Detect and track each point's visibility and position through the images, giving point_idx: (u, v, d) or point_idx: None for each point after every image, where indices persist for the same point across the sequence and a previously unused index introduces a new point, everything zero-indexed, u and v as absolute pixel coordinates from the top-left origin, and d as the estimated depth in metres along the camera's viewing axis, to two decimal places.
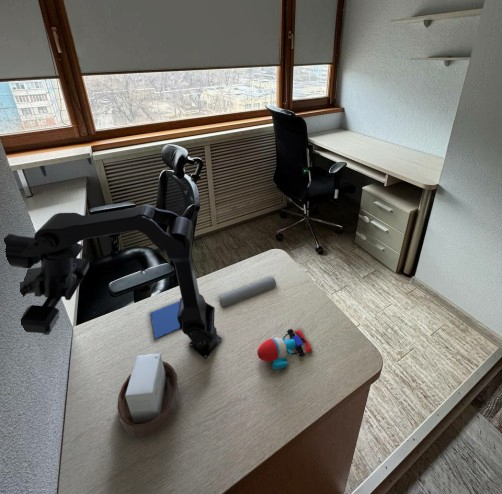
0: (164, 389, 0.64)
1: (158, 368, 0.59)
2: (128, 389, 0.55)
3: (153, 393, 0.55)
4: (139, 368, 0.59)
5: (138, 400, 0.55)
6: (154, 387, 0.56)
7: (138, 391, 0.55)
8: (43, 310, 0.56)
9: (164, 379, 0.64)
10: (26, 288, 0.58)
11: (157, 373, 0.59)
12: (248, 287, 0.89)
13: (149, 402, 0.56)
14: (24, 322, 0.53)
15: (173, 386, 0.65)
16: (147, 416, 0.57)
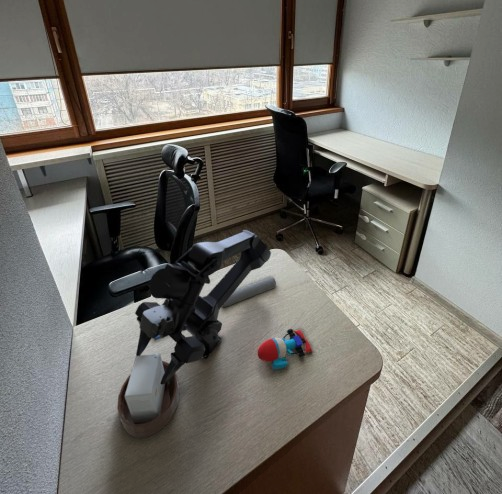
0: None
1: (157, 368, 0.59)
2: (127, 389, 0.55)
3: (152, 393, 0.55)
4: (138, 368, 0.59)
5: (138, 400, 0.55)
6: (153, 387, 0.56)
7: (137, 391, 0.55)
8: (192, 339, 0.58)
9: None
10: None
11: (156, 373, 0.58)
12: (248, 287, 0.89)
13: (149, 402, 0.55)
14: (194, 349, 0.55)
15: (173, 386, 0.65)
16: (146, 416, 0.57)
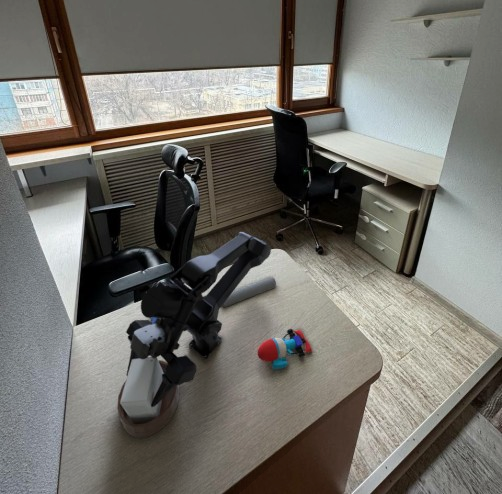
0: None
1: (154, 372, 0.58)
2: (123, 395, 0.54)
3: (148, 399, 0.54)
4: (134, 372, 0.57)
5: (134, 406, 0.54)
6: (149, 392, 0.55)
7: (132, 398, 0.54)
8: (184, 359, 0.57)
9: None
10: None
11: (153, 377, 0.57)
12: (248, 287, 0.89)
13: (145, 407, 0.55)
14: (186, 370, 0.54)
15: None
16: (145, 418, 0.57)
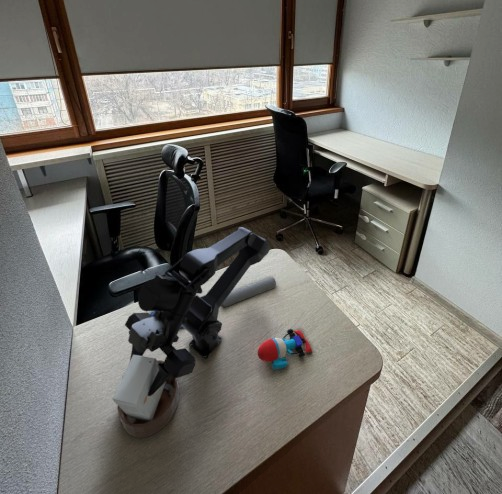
0: (163, 388, 0.61)
1: (150, 375, 0.56)
2: (116, 392, 0.53)
3: (139, 403, 0.52)
4: (132, 370, 0.56)
5: (125, 405, 0.53)
6: (141, 397, 0.53)
7: (124, 398, 0.52)
8: (183, 352, 0.57)
9: None
10: None
11: (148, 380, 0.55)
12: (248, 287, 0.89)
13: (136, 409, 0.53)
14: (185, 363, 0.54)
15: (173, 386, 0.65)
16: (138, 416, 0.56)
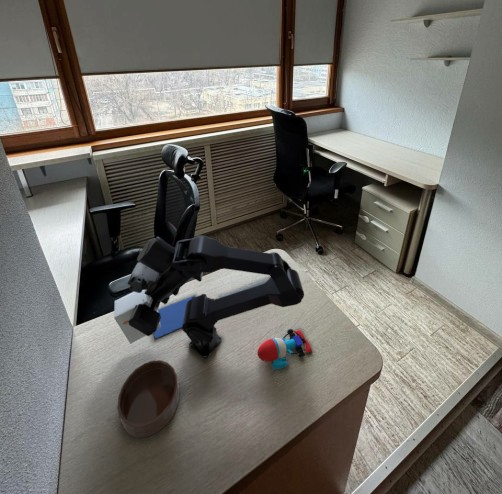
0: None
1: None
2: (118, 299, 0.69)
3: (117, 319, 0.64)
4: (134, 295, 0.69)
5: None
6: (121, 316, 0.65)
7: (116, 307, 0.67)
8: (153, 314, 0.61)
9: None
10: (145, 286, 0.62)
11: (132, 311, 0.66)
12: (248, 287, 0.89)
13: None
14: (140, 321, 0.58)
15: (173, 386, 0.65)
16: None
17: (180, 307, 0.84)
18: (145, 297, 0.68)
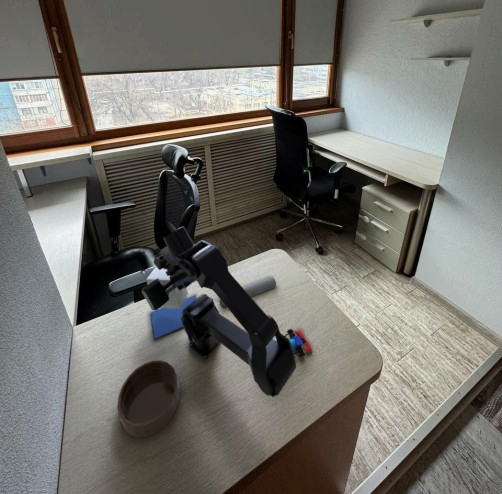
0: (173, 308, 0.77)
1: (162, 282, 0.74)
2: None
3: (147, 282, 0.75)
4: None
5: None
6: (151, 281, 0.75)
7: (153, 271, 0.78)
8: (161, 293, 0.66)
9: (174, 303, 0.76)
10: (164, 266, 0.68)
11: None
12: (248, 287, 0.89)
13: None
14: (147, 293, 0.65)
15: (173, 386, 0.65)
16: None
17: None
18: None
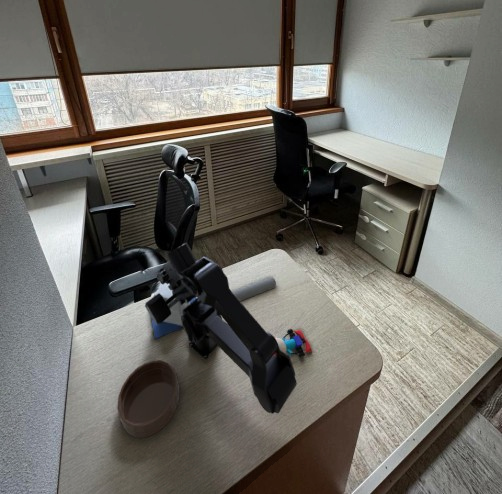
0: (176, 324, 0.79)
1: None
2: None
3: None
4: None
5: None
6: None
7: (160, 287, 0.79)
8: (164, 308, 0.68)
9: (178, 320, 0.78)
10: (167, 281, 0.70)
11: None
12: (248, 287, 0.89)
13: None
14: (150, 308, 0.67)
15: (173, 386, 0.65)
16: None
17: None
18: None
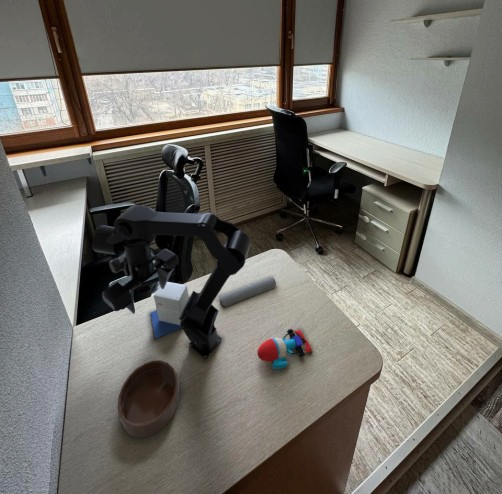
0: (176, 324, 0.79)
1: (170, 301, 0.75)
2: None
3: (155, 298, 0.76)
4: (176, 287, 0.79)
5: None
6: (158, 298, 0.76)
7: (160, 287, 0.79)
8: (120, 290, 0.63)
9: (178, 320, 0.78)
10: (119, 266, 0.68)
11: (166, 300, 0.76)
12: (248, 287, 0.89)
13: None
14: (104, 294, 0.62)
15: (173, 386, 0.65)
16: None
17: None
18: (180, 296, 0.76)
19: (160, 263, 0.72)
